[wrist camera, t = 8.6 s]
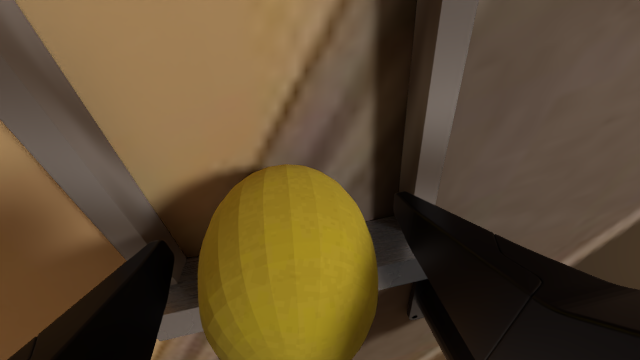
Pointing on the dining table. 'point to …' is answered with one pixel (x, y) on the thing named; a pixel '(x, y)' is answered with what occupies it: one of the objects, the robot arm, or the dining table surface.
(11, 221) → the dining table surface
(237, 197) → the lemon
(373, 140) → the dining table surface
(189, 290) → the channel
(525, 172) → the dining table surface
